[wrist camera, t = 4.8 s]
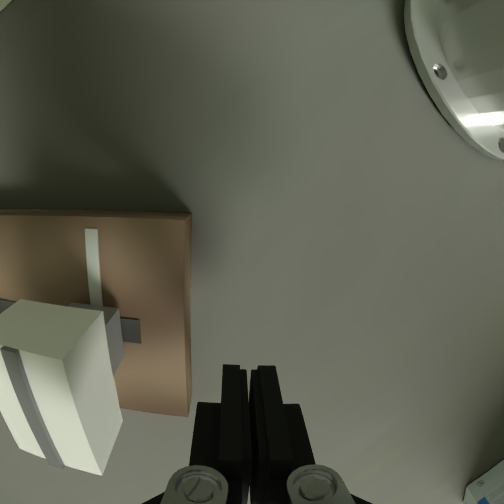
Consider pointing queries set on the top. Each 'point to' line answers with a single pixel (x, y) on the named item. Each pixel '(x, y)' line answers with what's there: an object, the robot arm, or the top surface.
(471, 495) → the string lights box
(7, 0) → the can
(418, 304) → the top surface
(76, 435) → the fader knob
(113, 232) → the fader console
